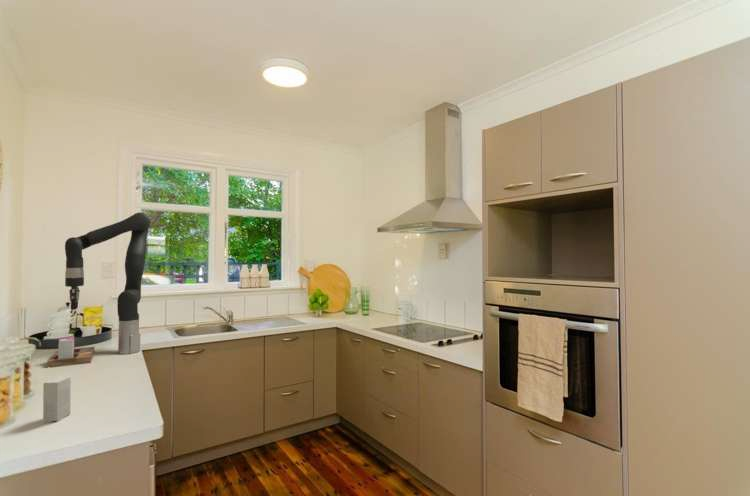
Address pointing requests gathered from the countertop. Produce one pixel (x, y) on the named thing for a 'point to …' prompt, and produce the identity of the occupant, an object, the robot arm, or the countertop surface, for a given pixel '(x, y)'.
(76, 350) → the socket block
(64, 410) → the skincare box
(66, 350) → the supplement box
